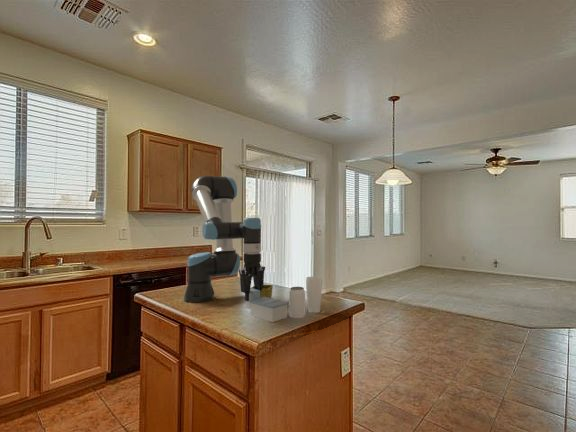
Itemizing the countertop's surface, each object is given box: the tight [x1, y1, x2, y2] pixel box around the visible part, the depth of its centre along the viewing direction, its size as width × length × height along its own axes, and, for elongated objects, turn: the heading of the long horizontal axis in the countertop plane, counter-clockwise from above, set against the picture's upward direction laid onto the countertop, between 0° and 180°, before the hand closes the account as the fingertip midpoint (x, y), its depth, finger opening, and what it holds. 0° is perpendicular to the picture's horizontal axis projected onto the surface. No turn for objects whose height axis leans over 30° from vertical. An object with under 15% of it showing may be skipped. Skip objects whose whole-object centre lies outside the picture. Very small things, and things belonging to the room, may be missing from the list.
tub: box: [250, 303, 287, 323], centre depth 129 cm, size 13×8×6 cm, turn 47°
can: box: [288, 286, 306, 319], centre depth 130 cm, size 6×6×12 cm
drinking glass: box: [305, 276, 323, 314], centre depth 137 cm, size 7×7×15 cm
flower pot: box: [250, 284, 274, 298], centre depth 148 cm, size 9×9×9 cm
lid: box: [249, 289, 289, 309], centre depth 131 cm, size 19×9×6 cm, turn 47°
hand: (252, 307), depth 136 cm, fingers closed on lid, 3 cm apart
